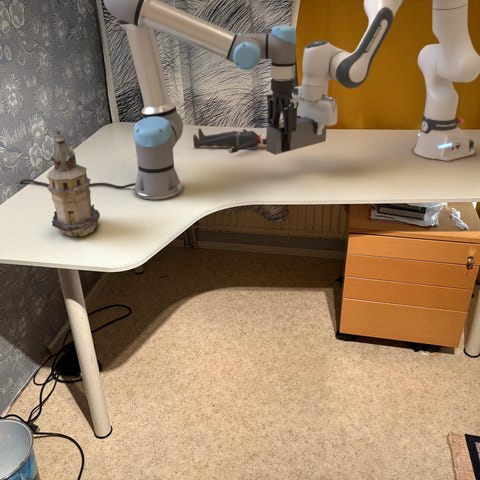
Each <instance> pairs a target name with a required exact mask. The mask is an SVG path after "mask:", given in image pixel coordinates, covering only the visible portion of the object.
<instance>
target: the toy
mask: <svg viewBox="0 0 480 480" xmlns="http://www.w3.org/2000/svg"><path fill="white" fill-rule="evenodd" d="M202 130H203V129H201V128H198V130H197V134H198V136H197V134H193V136H192V141H193V147H194V148H195V149H198V148H201V147H210V148H211V147H228V148H229V149H227V153H229V154H230V155H231V154H234V153H238V152H239V151H242V150H245V149H248V150H254V149H257V148H258V146H259V144H260V145H264V146H266V141H267V134H259V135H258V134H257V133H256V132H255V131H254V130H247V129H245V128H241V129H240V131H239V130H238V131H237V130H234V131H225V132H220V133H215V134H208V135H205V133H204V132H203V131H202Z"/></svg>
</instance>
